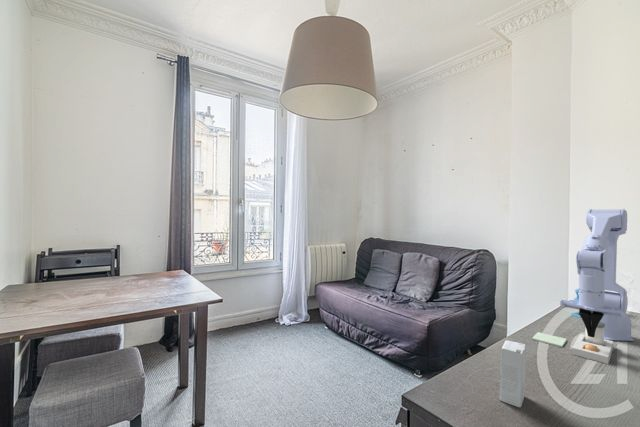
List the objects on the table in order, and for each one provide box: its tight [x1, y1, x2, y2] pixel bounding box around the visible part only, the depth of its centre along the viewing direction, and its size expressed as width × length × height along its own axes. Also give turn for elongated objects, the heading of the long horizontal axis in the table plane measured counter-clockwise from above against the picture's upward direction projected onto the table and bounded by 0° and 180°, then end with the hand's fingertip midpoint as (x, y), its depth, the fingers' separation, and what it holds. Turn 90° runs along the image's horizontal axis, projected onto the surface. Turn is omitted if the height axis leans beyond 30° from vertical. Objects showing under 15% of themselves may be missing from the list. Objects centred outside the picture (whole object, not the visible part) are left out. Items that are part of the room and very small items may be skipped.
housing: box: [571, 333, 614, 365], centre depth 94 cm, size 16×8×2 cm, turn 132°
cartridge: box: [584, 322, 605, 346], centre depth 96 cm, size 5×5×8 cm
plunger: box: [585, 344, 597, 352], centre depth 91 cm, size 3×3×2 cm
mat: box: [531, 331, 568, 348], centre depth 102 cm, size 8×8×1 cm
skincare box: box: [499, 339, 527, 408], centre depth 69 cm, size 6×4×12 cm
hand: (591, 336), depth 91 cm, fingers closed
